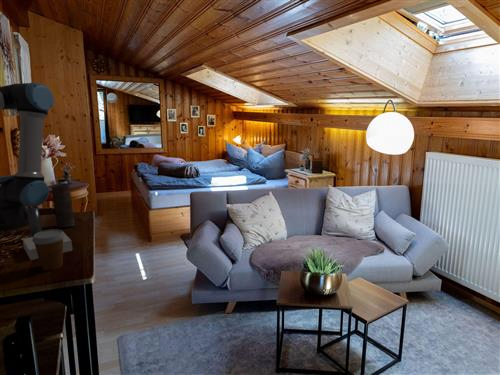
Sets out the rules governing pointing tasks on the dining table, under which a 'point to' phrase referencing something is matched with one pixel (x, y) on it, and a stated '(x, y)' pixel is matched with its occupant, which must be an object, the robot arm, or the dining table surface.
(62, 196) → the candle
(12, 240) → the dining table surface
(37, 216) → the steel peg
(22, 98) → the robot arm
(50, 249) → the disposable coffee cup
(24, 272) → the dining table surface
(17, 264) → the dining table surface
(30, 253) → the hole block
